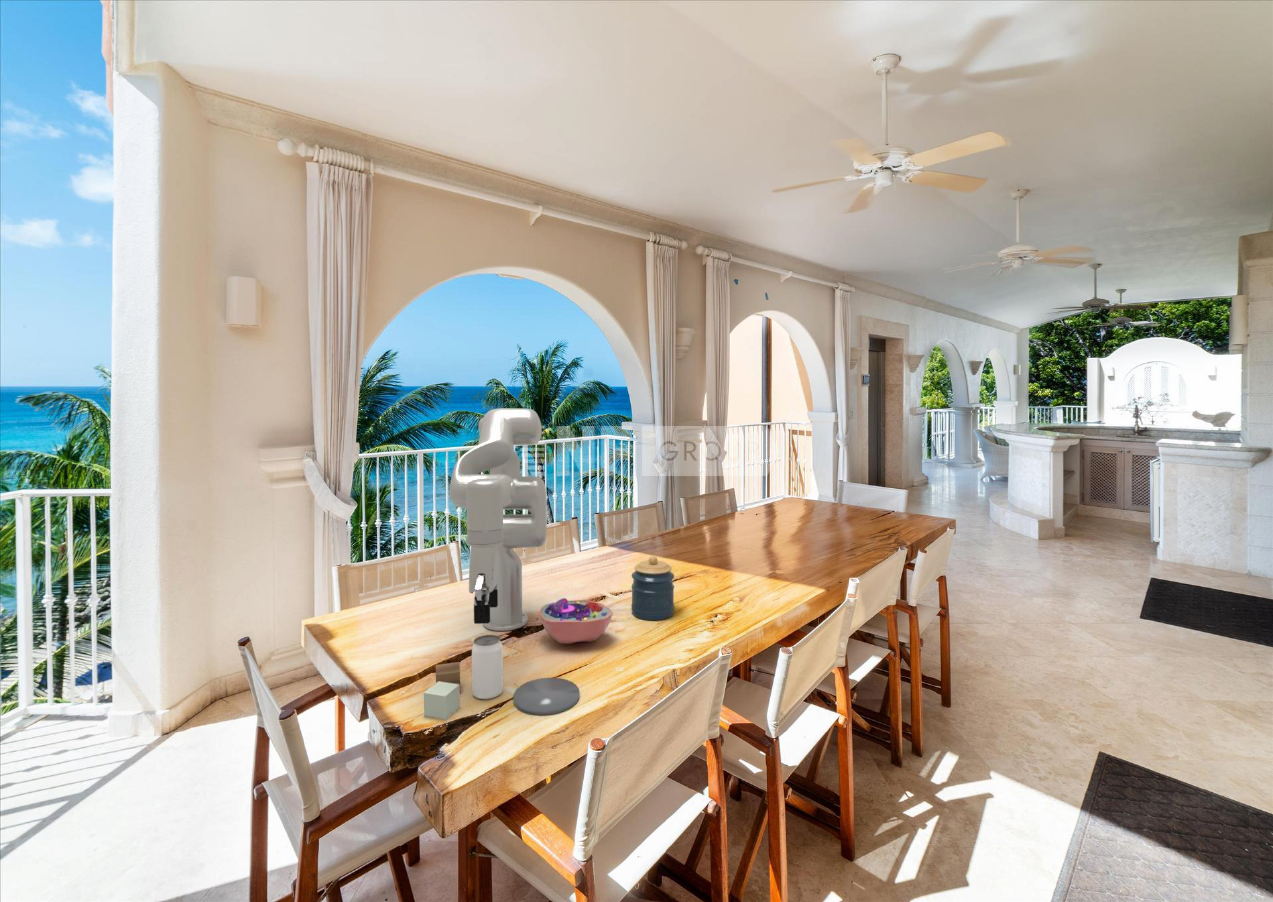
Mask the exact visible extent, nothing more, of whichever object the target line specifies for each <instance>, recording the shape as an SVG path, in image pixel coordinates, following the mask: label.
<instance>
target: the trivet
mask: <svg viewBox="0 0 1273 902" xmlns="http://www.w3.org/2000/svg"><path fill="white" fill-rule="evenodd" d="M579 699H580V689H579V687H578V685H577V684H576V683H574V682H573V681H571V680H568V679H566V678H561V677H542V678H541V677H539V678H535V679H532V680H530V681H527V682H525V683H523V684H521V685H520V686H518V687H517V688H516V689H515V691H514V693H513V704H514V706H515V708H516V709H517V710H519V711H520V712H522V713H525V714H528V715H532V716H550V715H551V716H553V715H557V714H560V713H563V712H566V711H567V710H570V709H571V708H573V707H574V706H575V705H577V703H578V701H579Z"/></svg>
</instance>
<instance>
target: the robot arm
mask: <svg viewBox="0 0 1273 902" xmlns="http://www.w3.org/2000/svg"><path fill="white" fill-rule="evenodd" d="M478 433H479V439H478V444H477V445H475V446H473V447H472V448H470V449H468V451H467V452H465V453H464V454H463V455H461V456H460V457H459V458H458V460H456V463H455V465H454V467H453V470H452V473H451V474H452V475H451V478H450V479H451V480H450V483H449V484H450V485H449V499H450V502H451V503H452V504H453V505H454V506H455V507H456V508H460V509H466V537H467V538H466V543H467V546H469V547H470V552H469V564H468V565H469V566H468V567H469V568H468V572H469V573H468V592H469V593H470V594H473V593H474V598H473V623H474V624H475V625H478V624H479V625H481V624H482V625H483V627H484V628H485V629H488V630H491V631H494V632H495V631H499V632H505V631H507V632H508V631H513V630H518V629H520V628H522V627H524V626H526V624H528V622H529V617H528V615H527V614H525V613H524V612H523V570H522V569H523V564H522V560H521V557H520V556H519V555H518V553H517V552H516V551H515V550H514V549H524V548H525V549H526V548H531V549H532V548H539V547H542V546H544V545H545V544H546V541H547V534H548V533H547V532H548V528H547V525H548V524H547V523H548V522H547V516H548V515H547V488H546V484H545V481H544V480H543V478H542V477H539V476H533V475H532V476H531V475H530V476H527V475H526V476H522V475H521V466H520V465H521V459H520V458H519V456H518V454H517V453H516V451H515V450H514V446H532V445H533V446H535V445H537V444H538V443H539V442H540V441H541V437H542V422H541V419H540V417H539V415H538V413H537V412H536V411H535V410H534V409H530V408H516V407H515V408H514V407H513V408H510V407H509V408H508V407H507V408H506V407H505V408H500V407H499V408H493V409H490V410H489V411H487V412H486V413H485V414H484V416H483V417H481V418H480V420H479V421H478ZM488 471H489V474H488V473H487V474H486V473H485V474H484V472H488ZM481 473H483V474H481ZM504 510H505V511H506V510H507V511H509V510H513V511H515V510H516V511H517V510H528V511H529V512H530V513H527V514H525V513H523V514H517V513H515V514H514V513H513V514H510V513H509V514H504Z"/></svg>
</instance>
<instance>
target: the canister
mask: <svg viewBox="0 0 1273 902" xmlns="http://www.w3.org/2000/svg"><path fill="white" fill-rule="evenodd" d="M633 568H634V572H632V573H631V578H632V579H633V581H632V584H631V605H630V606H631V608H630V609H631V613H632V615H633V616H634V617H636V618H637V619H641V620H644V621H645V620H646V621H662V620H666V619H669V618H671V617H672V616H673V615H674V611H675V604H674V595H675V594H674V593H675V592H674V591H675V585H674V582H673V580H674V578H675V574H674V573H673V572H671V571H672V569H673V568H672V566H671V565H669V564H667V563H666V562H665V561H663V560H658V558H657V557H656V556H655V555H652V556H650V557H649V559H648V560H643V561H641V562H639V563H638V564H636V565H635V566H634V567H633Z"/></svg>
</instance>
